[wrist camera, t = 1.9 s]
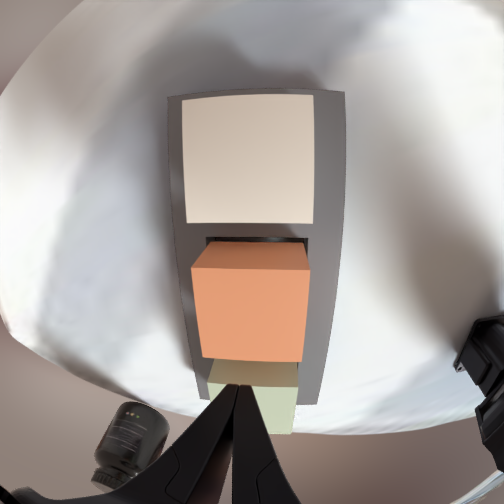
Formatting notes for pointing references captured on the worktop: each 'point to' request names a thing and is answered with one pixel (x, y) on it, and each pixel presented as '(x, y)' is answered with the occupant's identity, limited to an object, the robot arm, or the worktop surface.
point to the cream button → (249, 158)
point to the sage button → (261, 388)
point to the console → (273, 232)
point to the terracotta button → (252, 300)
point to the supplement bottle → (129, 445)
